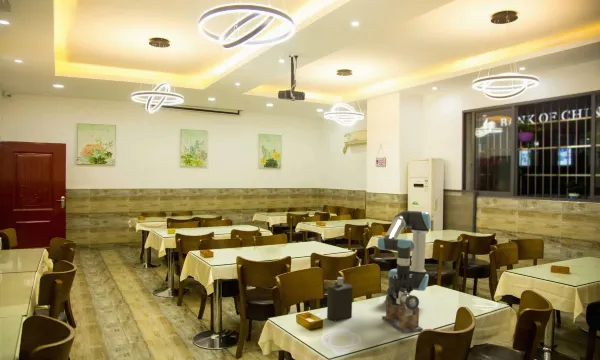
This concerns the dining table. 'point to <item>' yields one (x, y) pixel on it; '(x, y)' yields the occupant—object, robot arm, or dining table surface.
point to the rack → (402, 318)
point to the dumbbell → (404, 298)
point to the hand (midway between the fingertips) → (402, 303)
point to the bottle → (339, 301)
